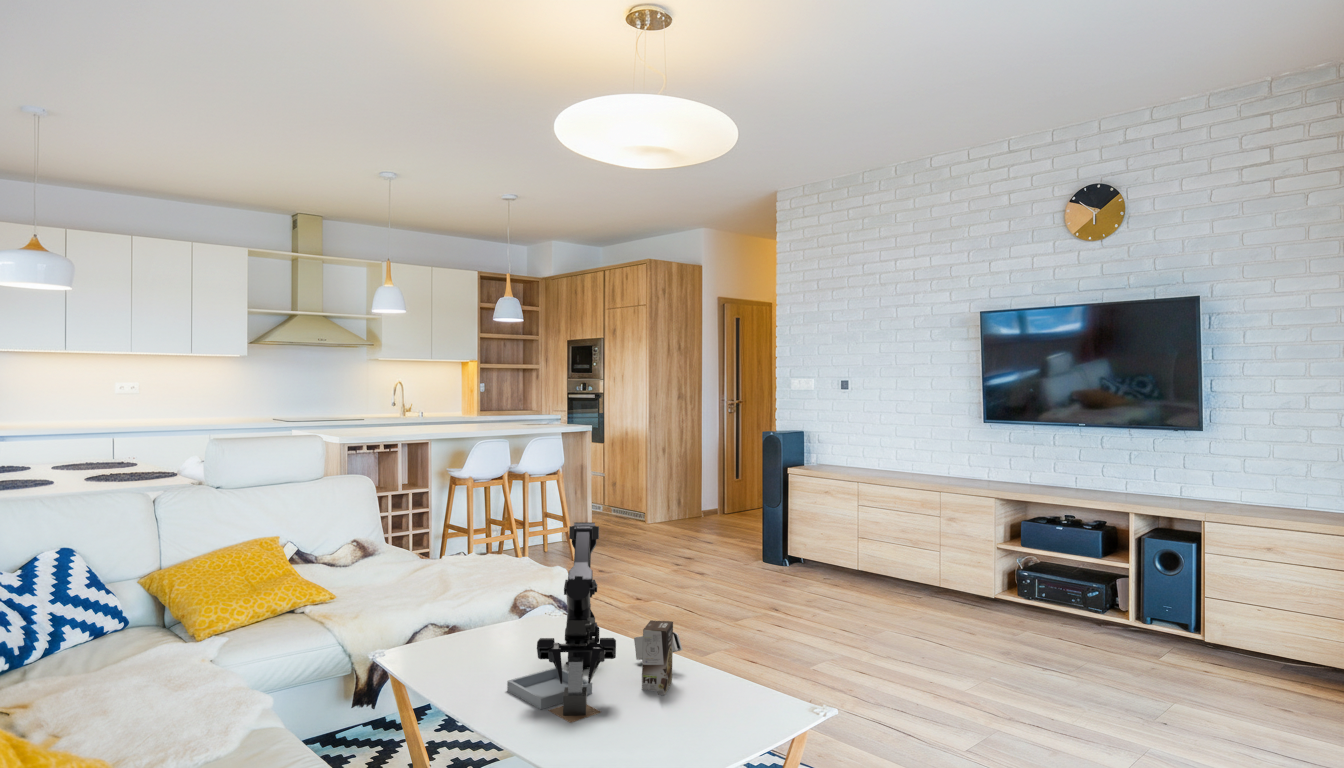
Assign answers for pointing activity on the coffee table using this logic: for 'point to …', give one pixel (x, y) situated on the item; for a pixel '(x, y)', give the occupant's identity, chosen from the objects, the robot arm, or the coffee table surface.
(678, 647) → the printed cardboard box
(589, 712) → the stud mount
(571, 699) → the strut
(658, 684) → the coffee box
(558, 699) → the bin
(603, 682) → the coffee table surface
